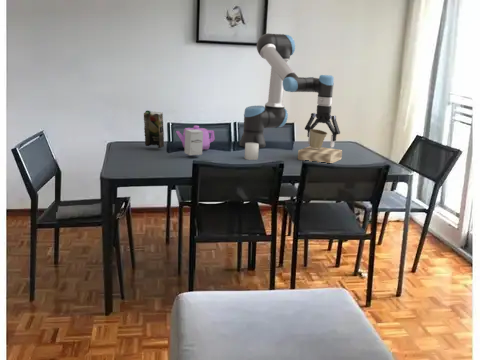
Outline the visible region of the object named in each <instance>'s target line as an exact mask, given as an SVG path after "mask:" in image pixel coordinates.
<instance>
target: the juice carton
mask: <svg viewBox="0 0 480 360" xmlns="http://www.w3.org/2000/svg"><path fill="white" fill-rule="evenodd" d="M163 116H164V114H163V112H161V111H151V110H145V112H143V123H144V124H143V125H144V128H143V129H144V132H143V133H144V144H145V146H146V147H149V146H157V148H158V149H161V148H163V147H164V146H165V133H164V117H163Z"/></svg>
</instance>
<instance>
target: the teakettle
mask: <svg viewBox="0 0 480 360" xmlns="http://www.w3.org/2000/svg"><path fill="white" fill-rule="evenodd" d="M185 130H201V131H203V146H202V150H209V149H210V146H211V145H210V144H211V143H212V142H214V141H215V130H210V129H209V130H208V129H207V128H205V127H204V128H203V127H200V126H199V125H193V127H185V128H184V129H183V133H181V132H180V130H176V131H175V133H176V135H177V137H178V138H179V140H180V142H181V144H182V147H183V148H184V149H185Z"/></svg>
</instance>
